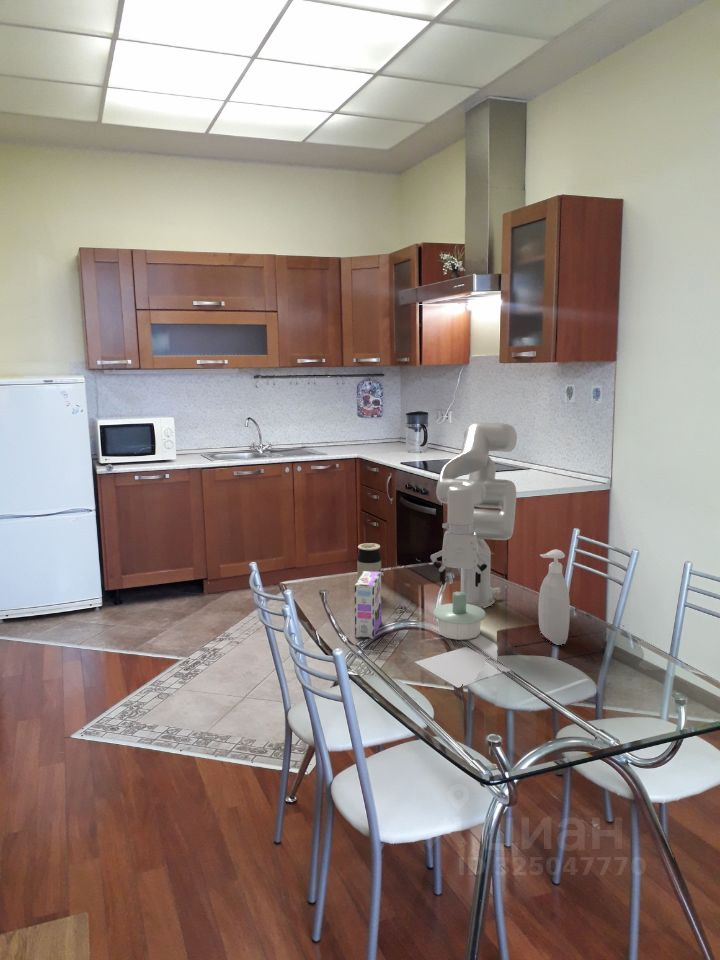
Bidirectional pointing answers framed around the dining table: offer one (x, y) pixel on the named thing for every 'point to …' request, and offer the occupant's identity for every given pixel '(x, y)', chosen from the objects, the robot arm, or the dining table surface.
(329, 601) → the dining table surface
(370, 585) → the candy box
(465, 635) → the bowl
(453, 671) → the mat
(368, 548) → the travel mug
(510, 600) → the dining table surface
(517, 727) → the dining table surface
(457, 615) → the lid
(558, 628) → the soap bottle
